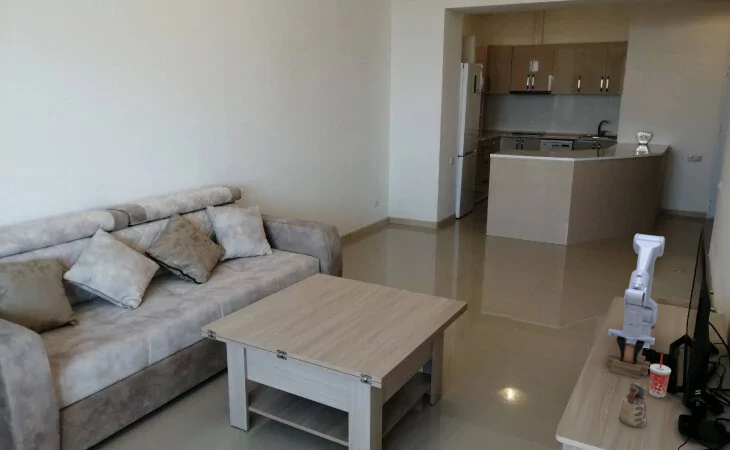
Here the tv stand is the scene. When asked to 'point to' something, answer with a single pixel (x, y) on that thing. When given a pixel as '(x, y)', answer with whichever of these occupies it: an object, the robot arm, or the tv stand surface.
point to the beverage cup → (659, 379)
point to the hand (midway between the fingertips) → (628, 358)
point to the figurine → (634, 407)
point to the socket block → (627, 365)
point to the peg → (629, 353)
